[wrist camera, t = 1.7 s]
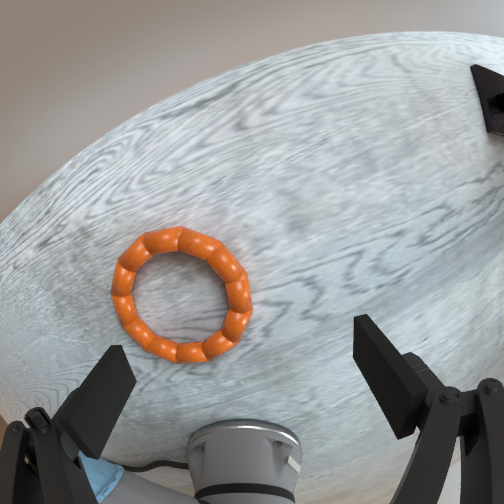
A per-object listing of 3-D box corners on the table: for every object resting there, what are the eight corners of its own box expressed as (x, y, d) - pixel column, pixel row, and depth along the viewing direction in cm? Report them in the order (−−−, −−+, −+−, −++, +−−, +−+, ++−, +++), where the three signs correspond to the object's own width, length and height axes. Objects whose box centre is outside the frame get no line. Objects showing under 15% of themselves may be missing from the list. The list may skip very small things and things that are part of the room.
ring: (139, 358, 26) (133, 368, 24) (103, 240, 24) (93, 244, 22) (260, 348, 26) (261, 359, 24) (238, 215, 23) (237, 218, 21)
